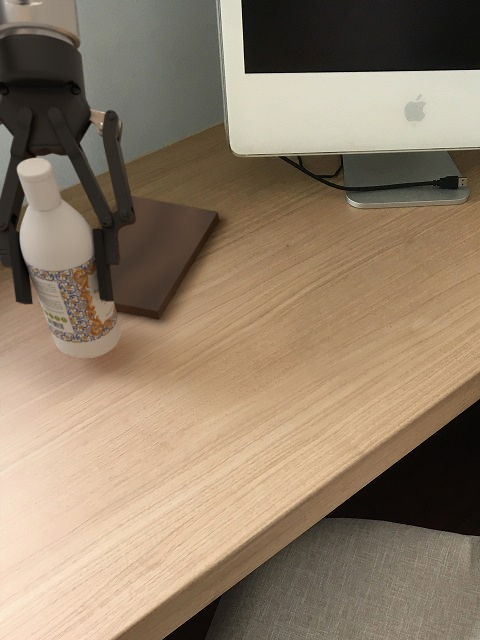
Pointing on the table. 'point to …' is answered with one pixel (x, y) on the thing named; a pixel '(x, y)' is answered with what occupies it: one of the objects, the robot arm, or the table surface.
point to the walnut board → (157, 254)
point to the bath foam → (64, 266)
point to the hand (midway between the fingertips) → (65, 301)
